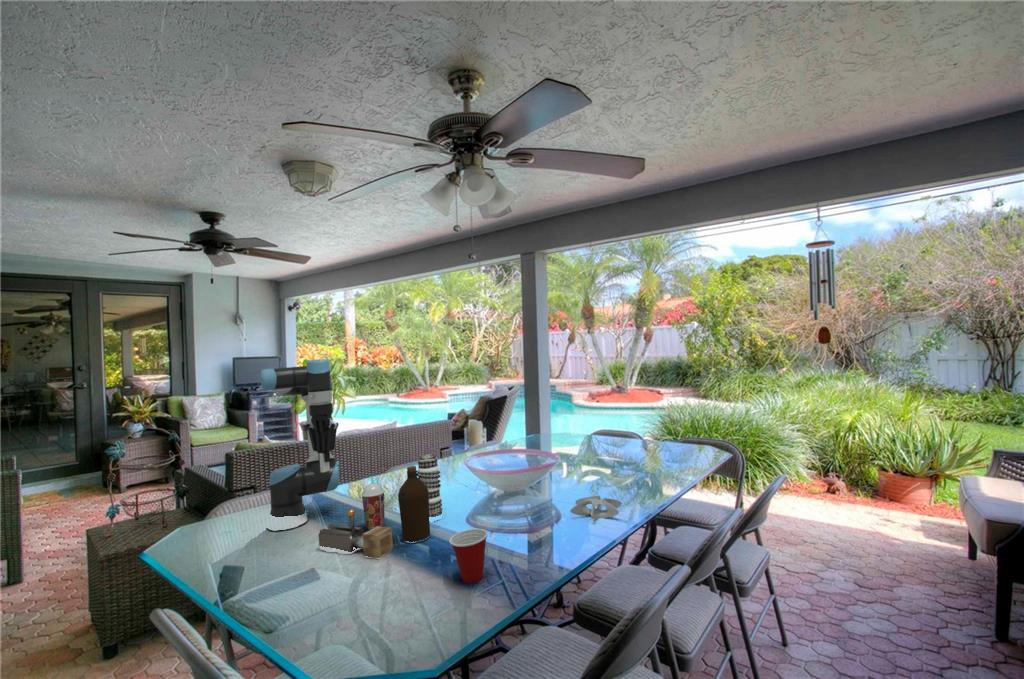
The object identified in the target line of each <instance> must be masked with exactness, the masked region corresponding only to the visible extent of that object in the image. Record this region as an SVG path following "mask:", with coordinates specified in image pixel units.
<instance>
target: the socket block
mask: <svg viewBox="0 0 1024 679" xmlns="http://www.w3.org/2000/svg"><path fill="white" fill-rule="evenodd" d="M392 529H393V528H392V527H389V526H383V527H381V526H377V527H375V528H373V529H371V530H369V531H368V530H367V531H366V532H363V533H364V534H363V546H364V549H363V555H364V556H368V557H372V558H380V557H382V556H383V555H385V554H386V553H388V552H389V551H391V550H392V549H393V550H394V544H393V542H394V541H393V531H392ZM391 552H392V551H391ZM388 554H389V553H388ZM386 555H387V554H386ZM386 555H385V556H386ZM364 556H363V557H364ZM383 557H384V556H383ZM383 557H382V558H383ZM372 558H371V559H372ZM380 559H381V558H380Z"/></svg>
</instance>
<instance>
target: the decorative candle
mask: <svg viewBox="0 0 1024 679" xmlns="http://www.w3.org/2000/svg"><path fill="white" fill-rule="evenodd" d="M416 462H417V465H418V467H417V469H418V470H417V477H418V478H419V479H420V480H421V481H422V482H423V483H424V484H425V485H426V486H427V488H428V491H429V517H436V516H439V515H441V514H442V512H443V507H442V506H443V503H442V502H443V500H442V498H441V492H440V489H441V486H442V484H441V480H440V479H439V478H441V475H440V474H441V471H440V470H439V465H438V456H437V455H436V454H434V453H425V454H421V455H420V456H419V458H418V459H417V461H416Z"/></svg>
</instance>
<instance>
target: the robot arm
mask: <svg viewBox="0 0 1024 679" xmlns="http://www.w3.org/2000/svg"><path fill="white" fill-rule="evenodd" d="M331 376H332V375H331V365H330V360H329V359H327V358H322V359H321V358H320V359H310V360H307V361H306V365H303V366H300V365H299V366H292V367H291V366H290V367H289V366H288V367H277V368H276V367H275V368H273V367H272V368H271V367H270V368H266V369H261V371H260V387H261V389H262V390H264V391H271V392H273V393H274V394H278V395H281V396H282V395H284V396H300V398H301V399H300V400H302V401H303V402H305V414H306V415H305V416H306V424H305V427H306V430H307V443H308V454H309V457H308V458H307V460H306V461H305V466H302V465H301V464H299V463H295V464H289V465H285V466H282V467H280V468H277V469H274V470H273V471H272V472H271V473H270V474H269V483H268V485H269V488H270V489H269V493H270V494H269V495H270V496H269V497H270V512H269V515H270V514H271V515H272V516H275V517H284V516H298V515H302V514H304V513H305V510H306V507H305V505H304V501H303V497H304V496H309V495H315V494H321V493H322V494H323V493H327V492H331V491H334V490H336V489H337V488H338V486H339V482H340V481H339V479H340V461H338V460H337V461H336V456H334V455H333V454H332V452H331V451H333V450H335V446H336V440H337V439H336V438H337V429H338V427H339V422H335V421H334V419H333V417H332V414H333V413H334V410H333V408H334V407H333V403H331V402H333V395H332V392H333V391H334V386H333V381H332V377H331ZM306 511H307V510H306Z"/></svg>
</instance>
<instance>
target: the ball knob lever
mask: <svg viewBox="0 0 1024 679" xmlns="http://www.w3.org/2000/svg"><path fill="white" fill-rule="evenodd" d="M346 515H347V517H348V522H349V523H348V524H349V525H348V526H350V532H354V535H352V546H353V547H355V548H362V549H363V550H364V546H363V536H359V535H355V527H356V526H355V516H356V511H355V510H354V509H352V508H351V509H349V510H348V511H347V512H346Z"/></svg>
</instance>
